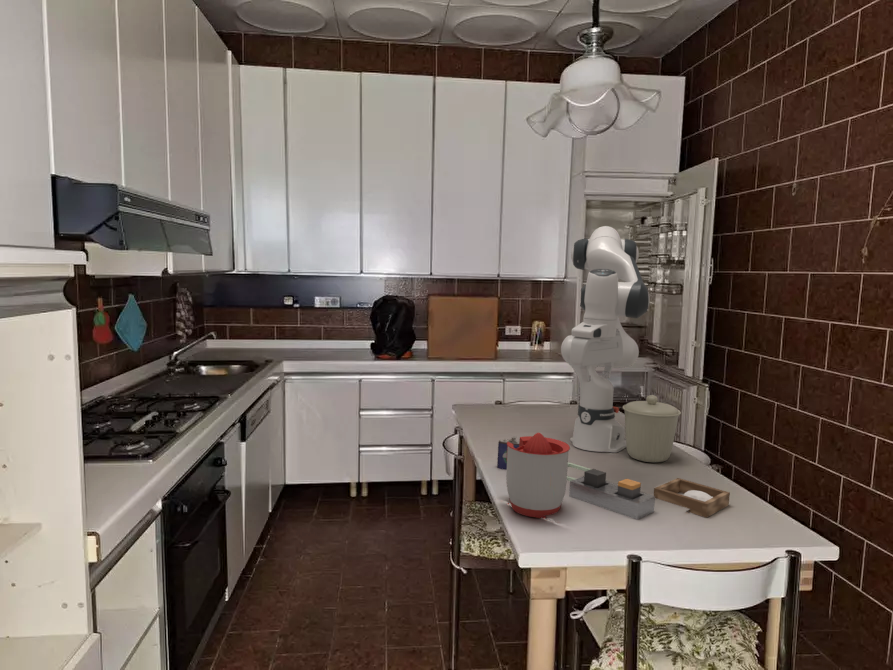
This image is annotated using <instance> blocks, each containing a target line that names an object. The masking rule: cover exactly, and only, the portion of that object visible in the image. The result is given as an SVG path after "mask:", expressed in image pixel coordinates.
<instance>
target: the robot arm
mask: <svg viewBox="0 0 893 670" xmlns="http://www.w3.org/2000/svg"><path fill="white" fill-rule="evenodd" d="M639 253H640V251H639V248H638V245H637V242H636V241H635V240H632V239H629V238H625V239H623V238H621V236H620V234H619V232H618V231H617V230H616V228H614V227H612V226H608V225H603V226H600V227H597V228H595V230H594V231H593V232H592V234H591V235H590V237H589V238H581V239H579V240H576V241H575V242H574V243H573V245H572V248H571V252H570V259H571V262H572V264H573V267H574V268H575V269H578V270H582V271H585V270H588V271H589V272H588V274H587V279H586V282H585V283H586V284H584V286H582V287H581V289H580V304H579V307H580V308H581V309H582V310H583V311H584V313H583V316H582V317H583V318H582V320H583V321H581V322H580V323H579V324H577V325H575V326H574V327H573V328H571V334H570V335H567V336H566V337H564V339H563V341H562V343H561V347H560V353H561V357H562V359H563V360H564V361H565V363H567V364H568V365H569V366H570V367H571V368H572V369H573V371H574V373H575V374H576V376H577V378H578V382H579V404H578V407H577V415H578V417H576V418H575V420H574V427H573V434H572V436H571V437H570V440H569V441H570V442H572V446H573V447H575V448H577V449H581V450H584V451H589V452H600V453H601V452H602V453H604V452H606V453H619V452H621V451H622V450H624V449H625V448H627V447H626V432H625V427H624V425H622V424H621V423H620V422H619V421H618V420H617V419H616V415H615V413H616V414H618V413H619V411H620V408H619V407H618V406H614V405H613V403H614V391H615V390H614V385H613V383H612V382H611V380H609V379H610V378H611V372H612V370H613V369H620V368H621V369H622V368H628V367H629V368H631V367H633V366H634V364H636V362H637V360H638V358H639V355H640V354H639V353H640V351H639V349H640V348H639V346H638V344H637V342H636V340H635V339H634V338H632V337H631V336H630V335H629V334H628V333H627V332H626V331H625V329H624V328H623V326H622V324H621V321H620V317H625V318H630V319H631V318H632V319H638V318H641V317H642V316H643V315H645V314H646V313H647V312H648V309H649V306H650V301H651V300H650V298H651V297H650V292H649V289H648V287H647V285H646V284H645V283H644V280H643V277H642V274H641V272H640V270H639V267H638V265H637V262H638V260H639V256H640V254H639ZM619 280H622V281H619ZM599 367H600V368H604V369H603V371H602V372H601V375H600V374H599V372H597V370H596V368H599Z"/></svg>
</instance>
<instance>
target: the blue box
mask: <svg viewBox="0 0 893 670" xmlns="http://www.w3.org/2000/svg"><path fill="white" fill-rule="evenodd" d="M507 442H510V443H512V444H513V447H514V448H518V447H519V441H517V435H516V436H515V435H511V438H510V439H507V438H504V439H499V440H498V443H497V445H498V447H497V462H496V468H497V469H500V470H506V471H507V461H506V460H507V458H503V454H504V453H507Z"/></svg>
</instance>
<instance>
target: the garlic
mask: <svg viewBox="0 0 893 670" xmlns="http://www.w3.org/2000/svg"><path fill="white" fill-rule="evenodd" d="M682 495H684V496H687V497H691V498H694V499H697V500H701V501H704V502H705V501H707V500H709V499H711V498H713V497H711V496H710V495H708V494H707V493H705V492H702V491H697V490H690V491H687V492H686V493H682Z"/></svg>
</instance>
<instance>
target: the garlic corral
mask: <svg viewBox="0 0 893 670" xmlns="http://www.w3.org/2000/svg"><path fill="white" fill-rule="evenodd" d="M690 490H697V491H702V492H705V493H707V494H708V495H710V496H711V497H713V498H711V499H709V500H707V501H705V502H704V501H701V500H697V499H694V498H691V497H687V496H684V495H683V494H684V493H686V492H687V491H690ZM681 493H682V494H681ZM730 495H731V492H730V491H727V490H723V489H719V488H715V487H711V486H708V485H704V484H700V483H697V482H694V481H691V480H686V479H684V478H680V477H676V478H674V479H672V480H670V481H668V482H665V483H663V484H661V485H658V486H655V487H653V496H655V499H657V500H661V501H664V502H667V503H670V504H673V505H675V506H679V507H682V508H686V509H687V510H686V512H687V513H690V514H693V515H697V516H699V517H702V518H705V519H706V518H709V517H710V516H712V515H714V514H716V513H717V512H719V511H721V510H723V509H725V508H726V507H728V506H729V505H730Z"/></svg>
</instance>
